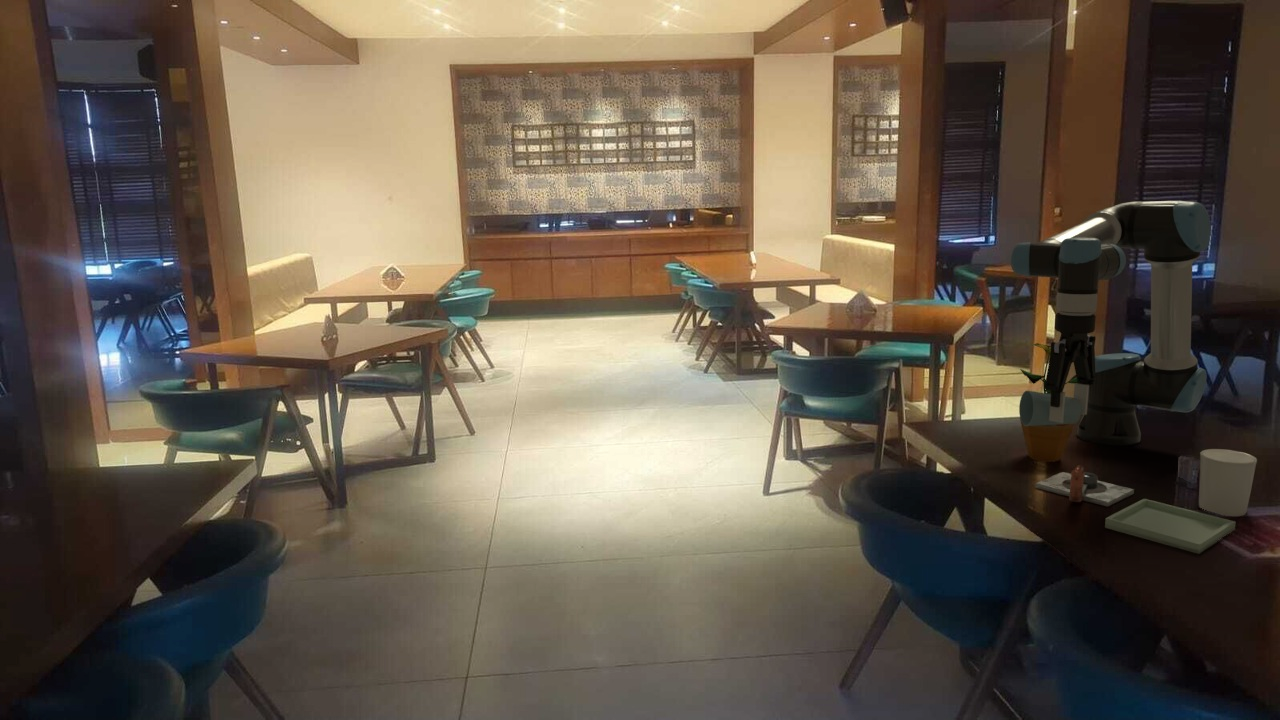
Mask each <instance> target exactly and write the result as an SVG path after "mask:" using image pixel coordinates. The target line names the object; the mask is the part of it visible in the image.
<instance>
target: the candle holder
mask: <svg viewBox="0 0 1280 720" xmlns="http://www.w3.org/2000/svg"><path fill="white" fill-rule="evenodd" d="M1199 462H1200V463H1199V486H1198V487H1199V488H1198V490H1199V491H1198V494H1199V495H1198V507H1199V508H1200V509H1201V508H1202V509H1201V510H1203V509H1204V510H1203V511H1205V510H1207V511H1211V512H1215V513H1218V514H1221V515H1220V516H1224V515H1225V517H1242V516H1244V515H1246V514H1247V511H1248V507H1249V502H1250V497H1251V491H1252V486H1253V481H1254V476H1255V472H1256V465H1257V463H1258V459H1257V457H1255V456H1254V455H1251V454H1249V453H1246V452H1243V451H1238V450H1233V449H1223V448H1222V449H1221V448H1210V449H1209V448H1208V449H1204V450H1202V451H1200V452H1199ZM1207 511H1206V512H1207ZM1218 514H1217V515H1218Z"/></svg>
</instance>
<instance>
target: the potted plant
mask: <svg viewBox="0 0 1280 720" xmlns="http://www.w3.org/2000/svg"><path fill="white" fill-rule="evenodd" d="M1033 346H1035V347H1038V348H1041V349H1043V351H1044V352H1045V354H1047V355H1048V356H1047V360H1046V364H1045V367H1044V373H1043V375H1041V374H1034V373H1031V372H1029V371H1026V370H1024V369H1022V368H1020V369H1019V370H1020V372H1021V373H1022V374H1023V376H1025V377H1027V379H1028V380H1029V381H1030V382H1031V383H1032V384H1033V385H1035V384H1036V383H1037V382H1039V381H1040V380H1041V381H1042V387H1043V388H1042V389H1043V393H1046V394H1051V391H1049V390H1046V389H1045V382H1046V376H1047V371H1048V365H1049V360H1050V355H1051V345H1046V344H1041V343H1034V344H1033ZM1090 374H1091V373H1090ZM1075 383H1079V382H1077V377H1076V374H1075V375H1074V376H1072V377H1071V378H1070V379H1069V381H1066V383H1065V385H1067V384H1074V385H1075ZM1089 385H1090V384H1089ZM1019 420H1020V424H1021V429H1022V434H1023V437H1024V438H1023V439H1024V442H1025V447H1026V450H1027V455H1028V457H1029V458H1030V459H1032V460H1034V461H1039V462H1042V463H1043V462H1045V463H1046V462H1047V463H1051V462H1052V463H1056V462H1058V461H1061V460H1062V456H1063V454H1064V451H1065V449H1066V446H1067V443H1068V441H1069V439H1070V435H1071V433H1072V431H1073V429H1074V425H1075V424H1056V425H1036V426H1024V425H1023V424H1022V422H1021V419H1020V418H1019Z"/></svg>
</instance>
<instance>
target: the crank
mask: <svg viewBox="0 0 1280 720" xmlns="http://www.w3.org/2000/svg"><path fill="white" fill-rule="evenodd" d="M1084 470H1085V469H1084V466H1083V465H1079V464H1078V465H1076V466H1075V468H1074V469H1073V470H1071V471H1070V472H1071V473H1070V474H1071V483H1070V496H1068V498H1069V499H1068V500H1069V501H1070V502H1074V503H1081V502H1082V501H1083V500H1082V499H1083V497H1084V495H1085V494H1086V492H1087V490H1088V489H1095V488H1097V480H1098V481H1099V479H1098V477H1099V475H1097V474H1095V473H1093V472H1088V471H1084Z"/></svg>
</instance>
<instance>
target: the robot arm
mask: <svg viewBox="0 0 1280 720" xmlns="http://www.w3.org/2000/svg"><path fill="white" fill-rule="evenodd" d="M1211 236H1212V225H1211V217H1210V214H1209V212H1208V209H1206V206H1204V205H1203V204H1202V203H1201V202H1197V201H1184V200H1161V201H1160V200H1159V201H1151V200H1150V201H1140V200H1139V201H1136V200H1135V201H1130V202H1129V201H1128V202H1122V203H1118V204H1116V205H1112V206H1109V207H1105V208H1103V209H1100V210H1097V211H1095V212H1093V213H1090V214H1089V215H1087V216H1086V218H1085V219H1084V220H1083V221H1082V222H1081V223H1079V224H1076V225H1075V226H1072V227H1070V228H1068V229H1065V230H1063V231H1061V232H1059V233H1057V234H1055V235H1052V236H1050V237H1047V238H1046V239H1043V240H1042V241H1038V242H1031V241H1028V242H1019V243H1017V244H1016V245H1015V246H1014V247H1013V249H1012V252H1011V255H1010V267H1011V270H1012V271H1013V272H1014V274H1016V275H1018V276H1025V277H1026V276H1027V277H1040V278H1057V289H1056V291H1057V294H1056V295H1055V299H1056V308H1055V310H1056V311H1057V313H1056V314H1055V317H1054V330H1055V331H1057V332H1058V333H1060V337H1059V340H1058V342H1057V341H1056V342H1055V341H1053V342H1051V343H1050V346H1051V355H1050V356H1049V360H1048V365H1047V370H1046V375H1045V379H1046V382H1045V390H1049V391H1051V397H1050V411H1049V421H1054V422H1059V423H1063V419H1064V405H1065V397H1066V391H1064V389H1065V386H1066V384H1065V383H1067V379H1068V376H1069V373H1070V370H1071V367H1072V365H1073V367H1074V373H1075V375H1076V377H1077V382H1079V383H1075V384H1074V386H1073V387H1074V388H1073V389H1074V390H1073V398H1076V399H1078V400H1079V402H1080V405H1081V415H1082V417H1081V420H1079V423H1078V426H1077V432H1076V435H1077V437H1078V438H1080V439H1082V440H1083V441H1087V442H1089V443H1090V442H1091V443H1093V444H1100V445H1108V446H1131V445H1137V444H1139V443H1140V442H1141V435H1142V433H1141V430H1140V426H1139V422H1138V418H1137V415H1136V406H1138V407H1140V406H1141V407H1146V408H1152V409H1158V410H1164V411H1169V412H1172V413H1173V412H1179V413H1189V412H1190V413H1191V412H1192V411H1193V410H1195V409H1196V408H1197V406H1198V405H1199V403H1200V401H1201V399H1202V397H1203V394H1204V392H1205V389H1206V384H1207V379H1208V377H1207V376H1208V375H1207V371H1206V369H1204V368H1202V367H1198V366H1199V365H1198V363H1199V360H1198V358H1197V357H1196V356H1195V355H1194V354H1192V353H1191V351H1192V350H1191V347H1192V346H1191V345H1192V342H1191V341H1192V301H1193V300H1192V299H1193V298H1192V297H1193V296H1192V295H1193V292H1192V291H1193V264H1194V262H1195V261H1197V260H1198V259H1199V258H1200V257H1201V252H1204V251H1205V250H1207V248H1208V247H1209V244H1210V241H1211V238H1210V237H1211ZM1123 249H1130V250H1143V259H1144V260H1145V261H1146V262H1147V263H1149V264H1150V276H1151V277H1150V278H1151V279H1150V353H1149V354H1147V355H1146V356H1145V357H1144V359H1143V361H1142V357H1141V355H1140V354H1138V353H1137V354H1136V353H1130V352H1124V353H1120V352H1119V353H1108V354H1100V355H1096V351H1095V347H1096V346H1095V344H1096V339H1097V338H1096V336H1095V335H1088V334H1092V333H1094V332H1095V330H1096V319H1097V318H1096V317H1097V315H1095V314H1094V313H1096V312H1097V309H1098V308H1097V307H1098V296H1099V295H1098V293H1099V292H1098V291H1099V283H1100V282H1099V281H1107V280H1110V279H1113V278H1115V277H1117V276H1119V275H1120V274H1121V273H1122V271H1123V270H1125V267H1126V263H1127V257H1126V254H1125V252H1124V250H1123ZM1090 373H1091V374H1090ZM1089 384H1090V385H1089Z"/></svg>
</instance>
